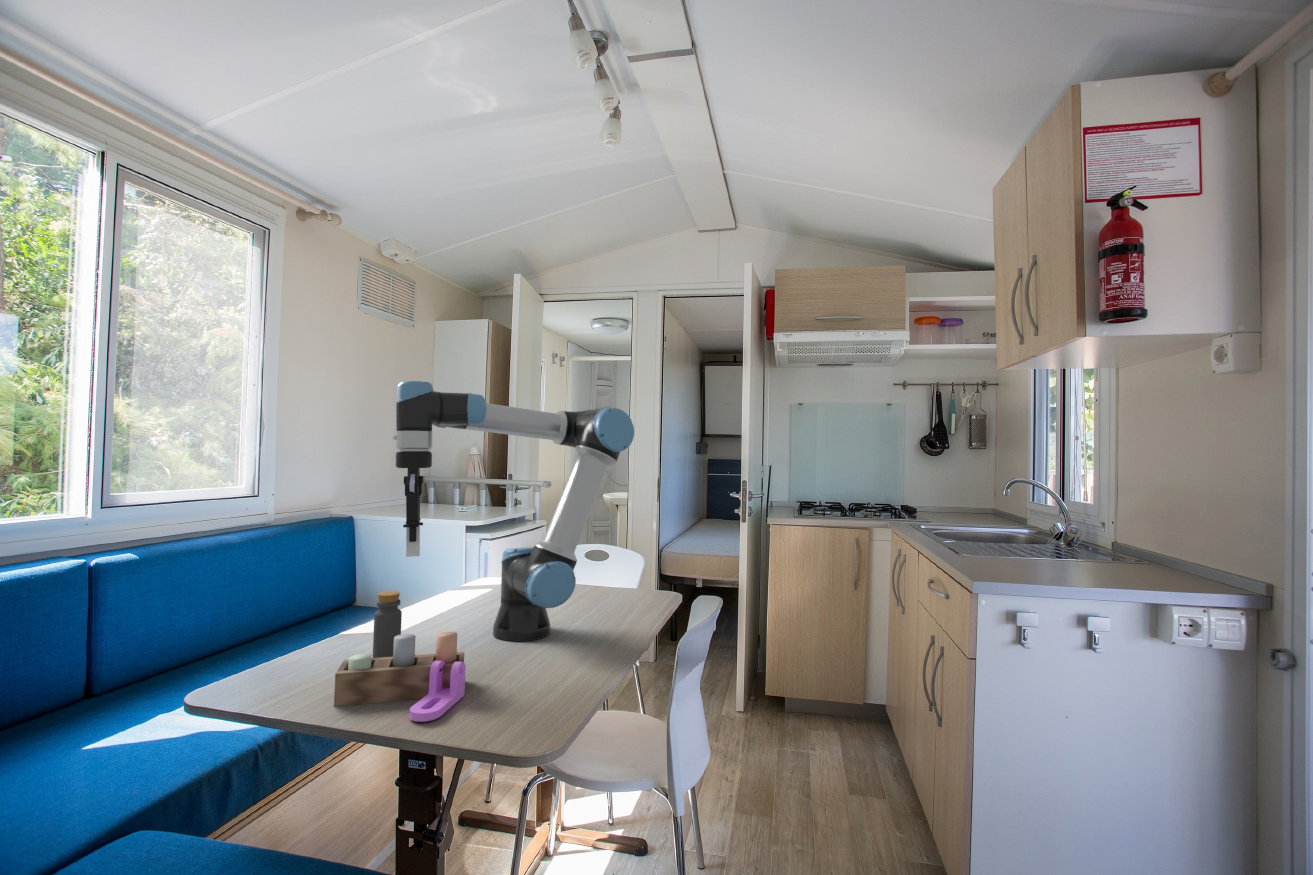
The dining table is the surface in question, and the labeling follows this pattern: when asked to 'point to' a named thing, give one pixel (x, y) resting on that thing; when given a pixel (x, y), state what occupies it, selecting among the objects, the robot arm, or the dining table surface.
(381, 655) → the bottle
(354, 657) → the green rounded cylinder
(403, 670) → the walnut rack
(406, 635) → the grey rounded cylinder
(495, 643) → the dining table surface
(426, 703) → the bracket
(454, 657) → the brown egg
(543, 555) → the robot arm
